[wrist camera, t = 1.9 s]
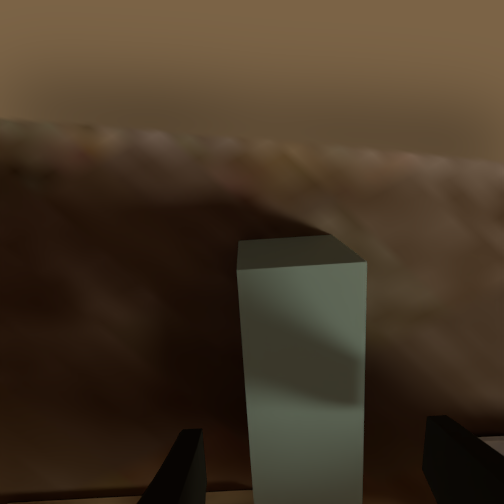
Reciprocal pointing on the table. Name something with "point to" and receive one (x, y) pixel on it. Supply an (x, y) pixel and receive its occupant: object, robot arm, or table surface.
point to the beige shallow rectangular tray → (225, 500)
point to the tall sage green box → (304, 367)
